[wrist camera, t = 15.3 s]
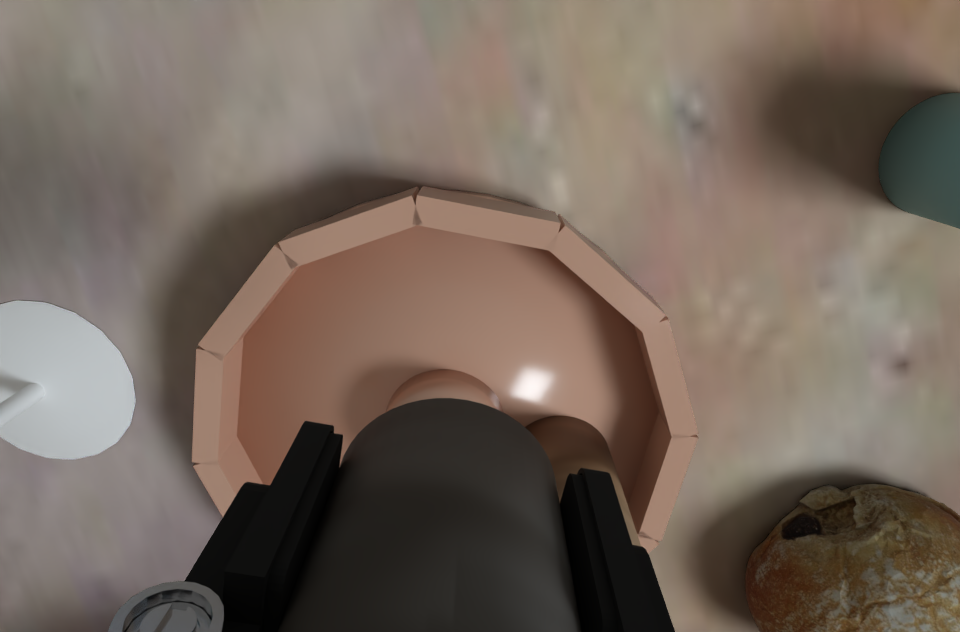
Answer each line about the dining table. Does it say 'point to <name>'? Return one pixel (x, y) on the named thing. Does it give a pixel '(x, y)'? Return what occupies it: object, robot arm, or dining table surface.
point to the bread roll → (859, 564)
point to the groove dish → (442, 341)
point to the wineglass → (60, 383)
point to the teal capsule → (925, 160)
